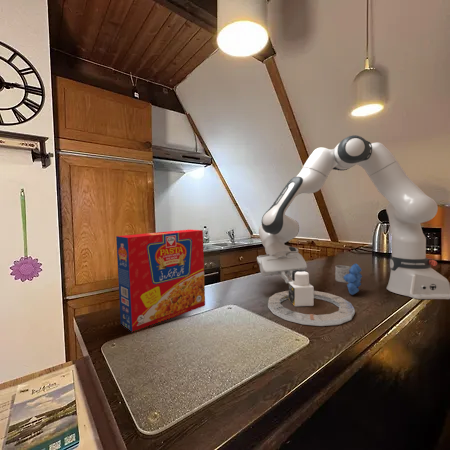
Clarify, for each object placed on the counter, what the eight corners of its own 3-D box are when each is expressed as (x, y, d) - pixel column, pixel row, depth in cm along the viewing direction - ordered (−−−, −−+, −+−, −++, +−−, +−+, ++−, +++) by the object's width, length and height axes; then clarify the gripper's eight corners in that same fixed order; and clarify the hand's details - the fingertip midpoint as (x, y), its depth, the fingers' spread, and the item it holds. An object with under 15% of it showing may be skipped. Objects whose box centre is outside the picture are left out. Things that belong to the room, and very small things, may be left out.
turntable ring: (344, 296, 98) (344, 291, 98) (364, 329, 71) (364, 323, 71) (271, 292, 105) (271, 287, 105) (264, 321, 78) (264, 315, 78)
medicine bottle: (288, 299, 96) (288, 268, 96) (306, 299, 97) (306, 268, 96) (294, 306, 89) (293, 273, 88) (314, 306, 89) (313, 273, 89)
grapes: (347, 287, 109) (347, 260, 108) (365, 291, 104) (365, 262, 103) (338, 294, 100) (338, 265, 99) (356, 298, 95) (357, 267, 95)
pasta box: (132, 333, 73) (127, 237, 71) (120, 324, 78) (116, 236, 77) (205, 305, 93) (202, 230, 91) (191, 300, 98) (189, 229, 97)
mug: (352, 282, 116) (352, 268, 115) (337, 282, 117) (337, 268, 117) (346, 277, 125) (346, 263, 125) (332, 276, 127) (332, 263, 126)
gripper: (257, 251, 103) (269, 281, 94) (300, 247, 109) (315, 275, 100) (253, 260, 107) (264, 289, 98) (294, 256, 113) (308, 283, 104)
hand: (290, 282), depth 99 cm, fingers closed
